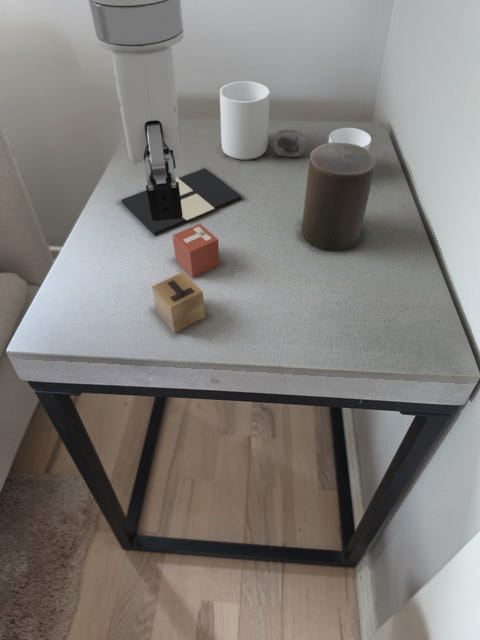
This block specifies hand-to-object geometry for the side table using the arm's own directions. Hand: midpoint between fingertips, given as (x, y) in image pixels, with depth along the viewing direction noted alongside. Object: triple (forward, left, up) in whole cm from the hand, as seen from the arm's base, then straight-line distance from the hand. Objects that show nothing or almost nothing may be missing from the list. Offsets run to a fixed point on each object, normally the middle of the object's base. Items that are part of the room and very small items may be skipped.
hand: (164, 192), depth 54 cm
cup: (+45, +13, -20) cm, 51 cm away
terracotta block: (+8, +8, -20) cm, 23 cm away
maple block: (0, 0, -20) cm, 20 cm away
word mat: (+15, +24, -20) cm, 34 cm away
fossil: (+41, +25, -20) cm, 52 cm away
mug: (+36, +33, -20) cm, 53 cm away
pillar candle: (+30, +1, -20) cm, 36 cm away
